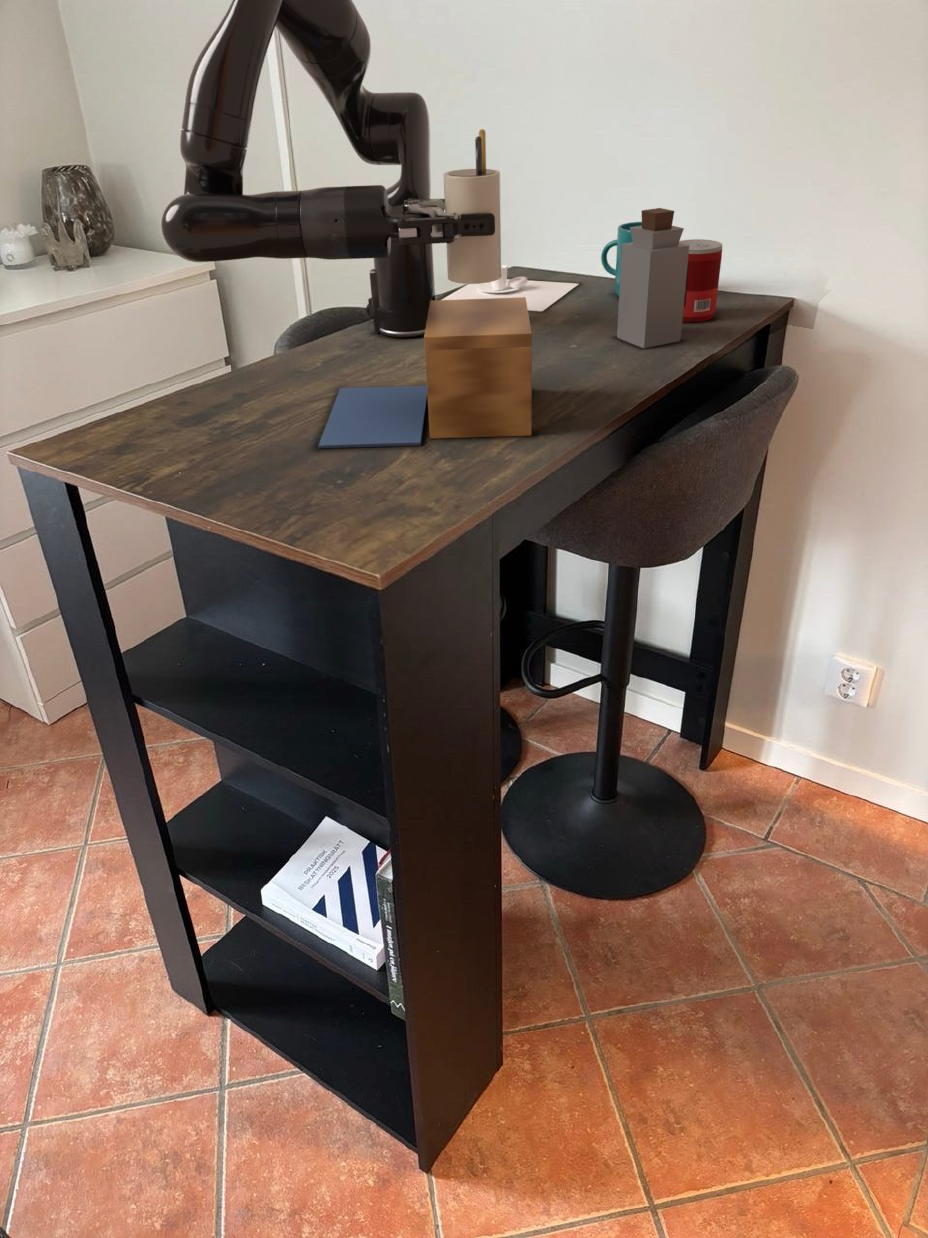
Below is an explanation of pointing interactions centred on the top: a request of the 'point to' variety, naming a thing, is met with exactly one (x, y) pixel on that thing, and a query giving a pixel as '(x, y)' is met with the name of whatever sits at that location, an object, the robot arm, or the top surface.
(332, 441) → the mat
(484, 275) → the holder
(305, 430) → the top surface
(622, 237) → the cup
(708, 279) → the canned food
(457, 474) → the top surface
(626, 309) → the perfume bottle
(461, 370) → the wooden shelf box
